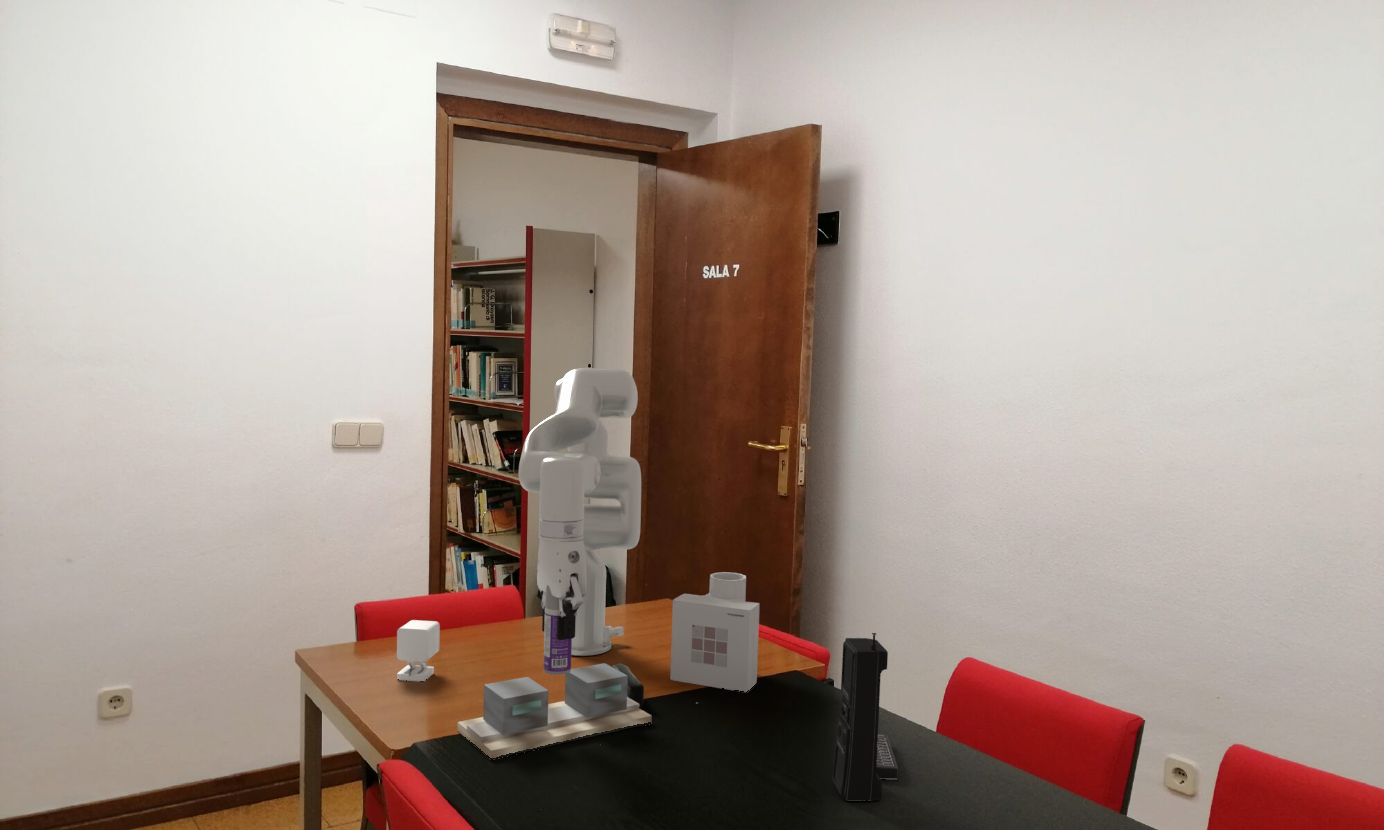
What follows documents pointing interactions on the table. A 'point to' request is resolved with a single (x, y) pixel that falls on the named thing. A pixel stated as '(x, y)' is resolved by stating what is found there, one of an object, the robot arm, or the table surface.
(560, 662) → the container
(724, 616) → the white square bottle
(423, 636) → the security camera
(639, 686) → the dark grey rounded bar
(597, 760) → the table surface
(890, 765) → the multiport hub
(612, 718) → the rail panel
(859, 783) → the portable radio
